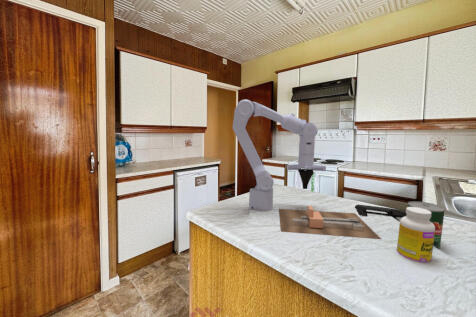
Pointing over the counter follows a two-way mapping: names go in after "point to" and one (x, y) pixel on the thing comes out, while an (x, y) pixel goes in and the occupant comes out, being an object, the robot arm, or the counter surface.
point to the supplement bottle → (416, 235)
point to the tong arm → (336, 219)
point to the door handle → (391, 212)
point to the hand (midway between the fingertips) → (304, 188)
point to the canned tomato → (433, 218)
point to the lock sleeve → (314, 218)
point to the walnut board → (290, 214)
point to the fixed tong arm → (331, 224)
